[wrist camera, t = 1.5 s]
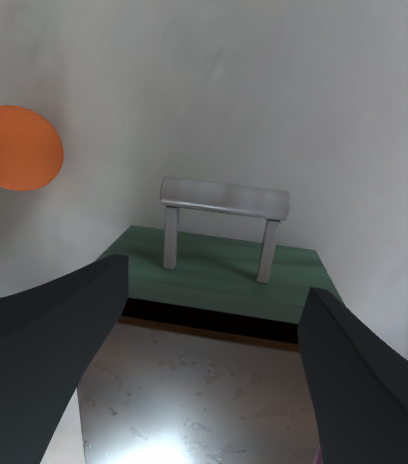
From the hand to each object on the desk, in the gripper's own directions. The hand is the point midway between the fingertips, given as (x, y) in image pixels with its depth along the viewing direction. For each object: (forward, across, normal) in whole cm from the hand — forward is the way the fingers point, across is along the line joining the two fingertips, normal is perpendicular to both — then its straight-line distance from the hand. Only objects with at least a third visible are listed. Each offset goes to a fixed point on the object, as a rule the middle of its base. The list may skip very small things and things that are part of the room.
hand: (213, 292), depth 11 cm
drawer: (+9, 0, +5) cm, 10 cm away
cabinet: (+9, 0, +10) cm, 14 cm away
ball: (+7, +13, -3) cm, 15 cm away
